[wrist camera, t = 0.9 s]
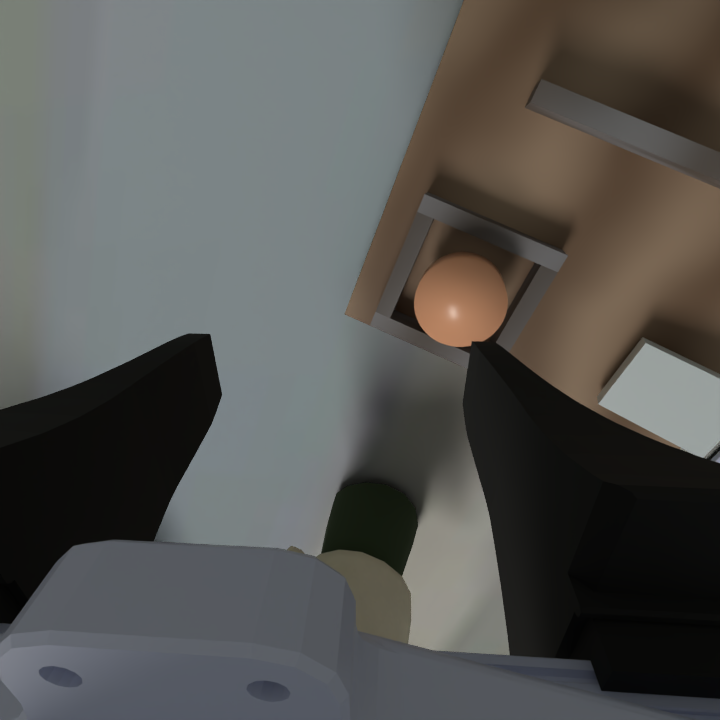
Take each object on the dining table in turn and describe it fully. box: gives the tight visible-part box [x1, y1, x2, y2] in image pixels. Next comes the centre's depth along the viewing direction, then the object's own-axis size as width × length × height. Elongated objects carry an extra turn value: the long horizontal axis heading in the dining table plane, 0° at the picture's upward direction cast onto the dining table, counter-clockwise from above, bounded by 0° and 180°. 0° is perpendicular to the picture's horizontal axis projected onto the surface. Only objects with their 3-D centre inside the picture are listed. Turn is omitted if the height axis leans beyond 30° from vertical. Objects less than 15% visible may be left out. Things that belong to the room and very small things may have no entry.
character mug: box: [287, 482, 418, 644], centre depth 26 cm, size 11×7×13 cm, turn 37°
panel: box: [345, 0, 720, 449], centre depth 19 cm, size 19×20×4 cm
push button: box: [414, 252, 508, 347], centre depth 20 cm, size 4×4×2 cm
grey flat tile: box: [597, 337, 720, 458], centre depth 21 cm, size 5×4×1 cm
